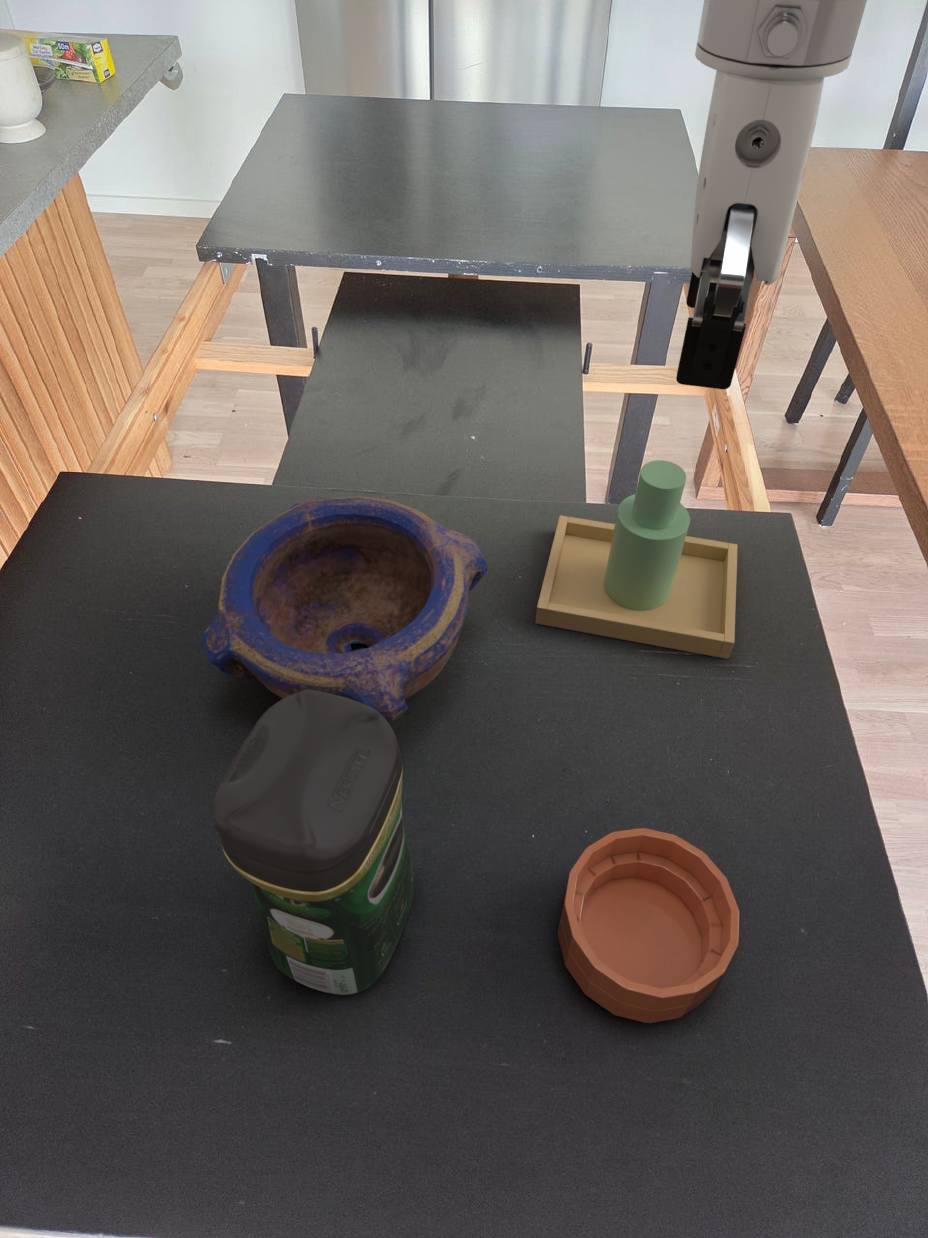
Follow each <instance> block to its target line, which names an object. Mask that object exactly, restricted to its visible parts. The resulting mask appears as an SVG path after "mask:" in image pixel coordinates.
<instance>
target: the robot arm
mask: <svg viewBox="0 0 928 1238" xmlns="http://www.w3.org/2000/svg"><path fill="white" fill-rule="evenodd" d="M867 2H868V0H703V6H702V10H701V17H700V23H699V24H700V25H699V29H698V35H697V41H696V47H695V52H694V56H695V58H696V60H697V61H699V62H700V63H701V64H702V65H704V66H706V67H708V68H710V69H712V70H716V71H715V75H714V81H713V87H712V92H711V99H710V103H709V109H708V115H707V121H706V126H705V133H704V139H703V144H702V149H701V150H702V151H701V156H700V164H699V170H698V177H697V185H696V192H695V203H694V210H693V211H694V213H693V222H692V223H693V224H692V225H693V226H692V237H691V255H690V256H691V257H690V258H691V259H690V270H691V276H690V282H689V286H688V290H687V297H686V305H687V307H688V308H690V309H691V308H692V309H694V312H693V315H692V316H693V317H689V316H688V317H687V323H686V327H685V333H684V337H683V342H682V347H681V351H680V356H679V362H678V365H677V372H676V378H675V379H676V382H677V383H678V384H679V385H684V386H691V387H693V386H694V387H698V388H699V387H700V388H708V389H715V390H728V389H729V388H730V387H731V385H732V382H733V378H734V374H735V371H736V366H737V363H738V359H739V355H740V351H741V347H742V344H743V341H744V340H743V339H744V335H745V331H746V326H747V324H746V323H745V320H746V317H747V316H746V315H747V310H748V305H749V299H750V295H751V289H752V284H753V279H754V276H755V278H756V281H760V282H764V285H765V286H771V285H773V284H774V283H775V282H776V281H777V280H778V279H779V278H780V275H781V274H780V273H781V270H782V266H783V262H784V258H785V253H786V249H787V245H788V240H789V236H790V232H791V228H792V224H793V220H794V217H795V212H796V208H797V203H798V200H799V196H800V191H801V188H802V184H803V180H804V176H805V173H806V172H805V171H806V168H807V163H808V160H809V155H810V151H811V147H812V142H813V138H814V133H815V130H816V124H817V121H818V114H819V110H820V104H821V100H822V93H823V88H824V83H825V82H824V81H825V78H829V77H832V76H835V75H838V74H841V73H844V71H845V70H847V69H848V67H849V66H850V63H851V59H852V56H853V52H854V47H855V44H856V40H857V37H858V34H859V30H860V28H861V27H860V26H861V23H862V19H863V16H864V13H865V10H866V9H865V8H866V5H867ZM754 274H755V275H754Z"/></svg>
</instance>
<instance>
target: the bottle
mask: <svg viewBox="0 0 928 1238" xmlns="http://www.w3.org/2000/svg"><path fill="white" fill-rule="evenodd" d="M686 481H687V474H686V471H685V470H684V469H683V468H682V467H681V466H680V465H678V464H677V463H675V462H672V461H668V460H662V459H658V460H657V459H656V460H651V461H648V462H646V463H644V465H642V467H641V468H640V471H639V476H638V481H637V485H636V488H635V489H636V490H635V493H634V494H631V495H629V496H627V497H626V498H624V499H623V500H622V501H621V502H620V503H619V505H618V508H617V511H616V518H615V522H614V524H615V526H614V532H613V537H612V542H611V547H610V552H609V558H608V563H607V568H606V573H605V578H604V587H605V590H606V593H607V594H608V596H609V597H610V598H611V599H612V600H613V601H614V602H616V603H617V604H619V605H621V606H623V607H625V608H628V609H632V610H651V609H655V608H657V607H659V606H661V605H662V604H664V603H665V602H666V601H667V599H668V598H669V595H670V592H671V588H672V585H673V581H674V578H675V574H676V570H677V567H678V563H679V560H680V556H681V553H682V549H683V545H684V542H685V538H686V536H688V530H689V529H690V523H691V517H690V514H689V511H688V510H687V508H686V507H685V506H684V505H683V504H682V503H681V501H682V497H683V492H684V489H685V486H686Z"/></svg>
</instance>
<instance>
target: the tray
mask: <svg viewBox="0 0 928 1238" xmlns="http://www.w3.org/2000/svg"><path fill="white" fill-rule="evenodd" d="M614 526H615V523H611V522H604V521H599V520H598V521H597V520H593V519H585V518H580V517H575V516H574V517H573V516H567V515H559V517H558V521H557V525H556V529H555V533H554V537H553V541H552V545H551V549H550V553H549V557H548V562H547V564H546V569H545V573H544V577H543V581H542V585H541V589H540V593H539V598H538V601H537V606H536V610H535V611H536V613H535V619H534V620H535V621H534V623H535V625H542V626H547V627H553V628H558V629H563V630H569V631H574V632H579V633H583V634H584V633H585V634H591V635H596V636H602V637H606V638H612V639H616V640H617V639H618V640H623V641H628V642H634V643H639V644H640V643H641V644H645V645H649V646H656V647H660V648H667V649H671V650H678V651H683V652H686V653H687V652H688V653H694V654H698V655H704V656H710V657H715V658H720V659H726V660H728V659H729V658H730V656H731V653H732V651H733V648H734V645H735V638H736V636H735V635H736V603H737V576H738V573H737V572H738V547H739V546H738V544H737V543H731V542H727V541H719V540H713V539H708V538H701V537H696V536H689V535H686V538H685V542H684V545H683V549H682V553H681V556H680V560H679V563H678V567H677V570H676V574H675V578H674V581H673V585H672V588H671V592H670V595H669V598H668V599H667V601H666V602H665V603H664V604H662V605H661V606H659V607H657V608H655V609H651V610H632V609H628V608H625V607H623V606H621V605H619V604H617V603H616V602H614V601H613V600H612V599H611V598H610V597H609V596H608V594H607V593H606V590H605V587H604V578H605V573H606V568H607V563H608V558H609V552H610V547H611V542H612V537H613V532H614Z"/></svg>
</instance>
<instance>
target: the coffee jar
mask: <svg viewBox="0 0 928 1238" xmlns="http://www.w3.org/2000/svg"><path fill="white" fill-rule="evenodd" d="M403 767H404V766H403V759H402V754H401V749H400V746H399V742H398V739H397V736H396V734H395V731H394V730H393V727H392V726H391V725H390V723H389V722H387V721H386V719H385V718H384V717H383V716H382V715H381V714H380V713H379V712H377V711H376V710H375V709H374V708H372V707H370V706H368V705H365V704H363V703H360V702H357V701H354V700H351V699H349V698H345V697H341V696H338V695H334V694H330V693H325V692H320V691H316V690H309V689H305V690H302V691H301V692H298V693H295V694H292V695H290V696H287V697H285V698H284V699H282V698H281V700H279V701H276V703H274V704H273V705H272V706H270V707H269V708H268V709H267V710H266V711H265V712H264V713H263V714H262V715H261V716H260V718H259V719H258V720H257V722H256V723H255V725H254V726H253V727H252V729H251V731H249V734H248V735H247V737H246V738H245V740H244V741H243V743H242V744H241V746H240V748H239V749H238V751H237V752H236V754H235V756H234V758H233V760H232V761H231V763H230V765H229V767H228V768H227V770H226V773H225V775H224V776H223V778H222V780H221V782H220V783H219V786H218V788H217V790H216V792H215V797H214V800H213V809H212V810H213V819H214V824H215V829H216V831H217V832H218V835H219V839H220V843H221V846H222V851H223V854H224V856H225V857H226V859H227V861H228V862H229V864H230V865H231V866H232V868H234V870H235V871H236V872H237V873H239V875H240V876H241V877H242V878H245V879H246V880H247V881H249V882H250V884H251V887H252V888H253V893H254V896H255V900H256V904H257V907H258V913H259V917H260V921H261V925H262V929H263V930H262V931H263V933H264V936H265V937H264V938H265V940H266V945H267V948H268V951H269V953H270V956H271V958H272V961H273V963H274V964H275V966H276V967H277V968H278V970H279V971H280V972H281V973H282V974H284V975H285V976H286V977H287V978H290V979H291V980H293V981H294V982H297V983H299V984H301V985H302V986H305V987H308V988H309V989H312V990H316V991H319V992H323V993H326V994H332V995H339V996H349V995H354V994H358V993H361V992H363V991H365V990H366V989H368V988H370V987H371V986H372V985H374V984H375V983H376V982H377V981H378V980H379V979H380V977H381V976H382V975H383V973H384V972H385V970H386V968H387V966H388V965H389V963H390V961H391V959H392V956H393V955H394V953H395V950H396V949H397V946H398V943H399V942H400V939H401V936H402V934H403V931H404V929H405V926H406V923H407V921H408V917H409V914H410V911H411V908H412V907H411V906H412V903H413V899H414V894H415V889H416V887H415V886H416V881H415V872H414V866H413V862H412V857H411V853H410V851H409V846H408V840H407V835H406V830H405V825H404V824H405V823H404V819H403V818H404V817H403V807H402V806H403V805H402V803H403V802H402V801H403V798H402V797H403V779H404V778H403V775H404V773H403V771H404V770H403Z"/></svg>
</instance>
